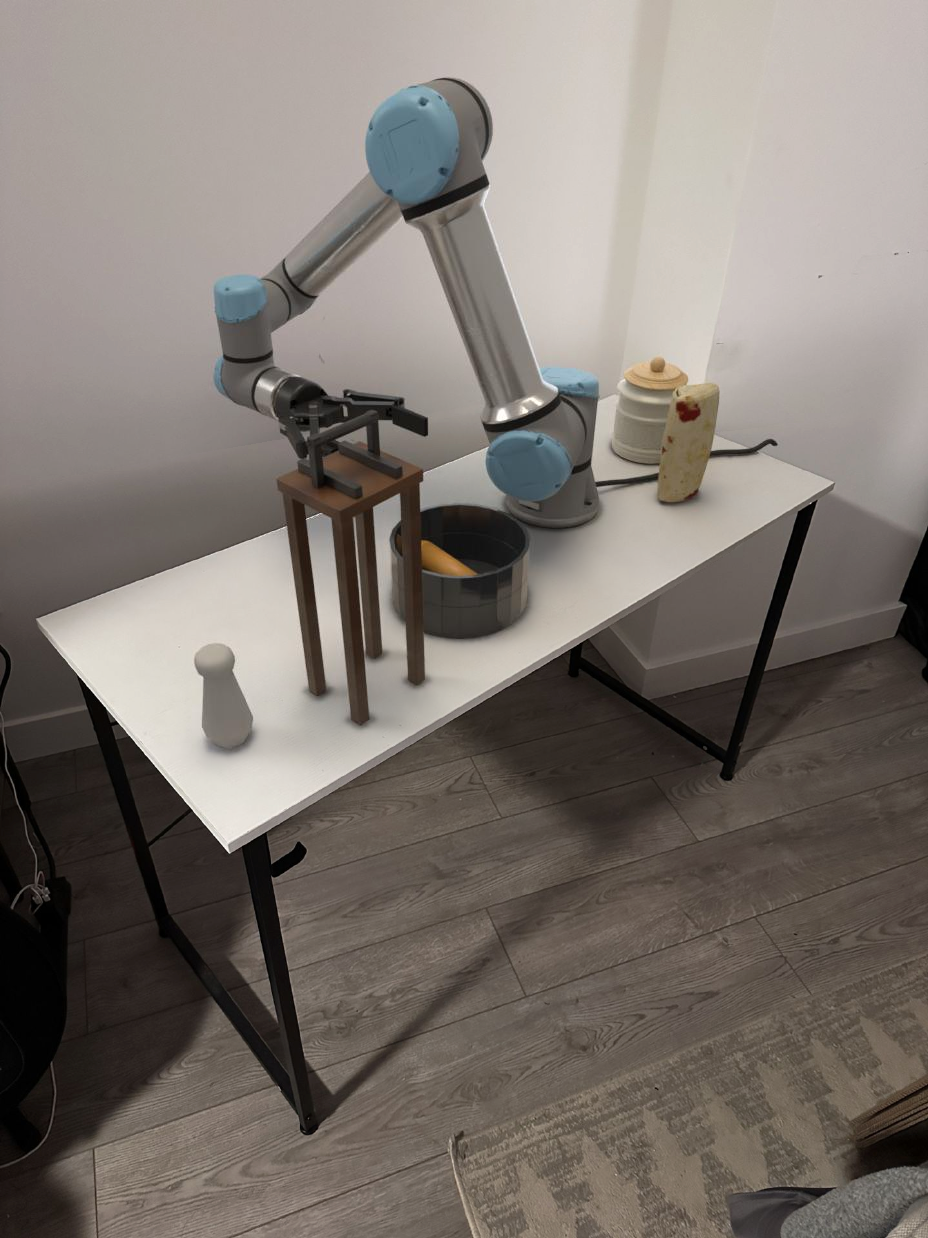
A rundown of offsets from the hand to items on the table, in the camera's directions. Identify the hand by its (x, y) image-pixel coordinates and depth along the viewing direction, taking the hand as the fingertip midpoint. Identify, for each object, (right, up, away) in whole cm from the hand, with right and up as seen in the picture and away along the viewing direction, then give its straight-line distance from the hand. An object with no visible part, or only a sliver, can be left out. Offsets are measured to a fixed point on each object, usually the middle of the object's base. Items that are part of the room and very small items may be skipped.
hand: (392, 443), depth 122 cm
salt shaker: (-18, -38, -17) cm, 45 cm away
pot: (+9, -21, +6) cm, 24 cm away
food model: (+46, -3, +29) cm, 55 cm away
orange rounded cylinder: (+8, -19, +6) cm, 21 cm away
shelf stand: (-2, -33, -10) cm, 34 cm away
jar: (+44, +7, +44) cm, 62 cm away
